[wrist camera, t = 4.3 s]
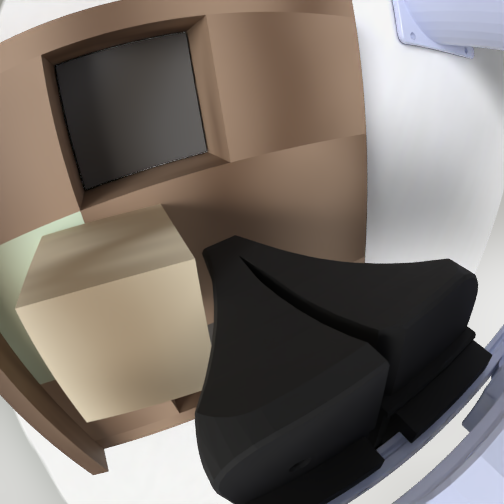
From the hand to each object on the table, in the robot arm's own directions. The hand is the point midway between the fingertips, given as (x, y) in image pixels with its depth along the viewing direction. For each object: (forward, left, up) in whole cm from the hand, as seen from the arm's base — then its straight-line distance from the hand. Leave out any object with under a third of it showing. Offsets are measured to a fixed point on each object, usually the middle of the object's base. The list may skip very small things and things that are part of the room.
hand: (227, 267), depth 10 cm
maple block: (+4, -1, -1) cm, 4 cm away
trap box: (+1, 0, -3) cm, 4 cm away
